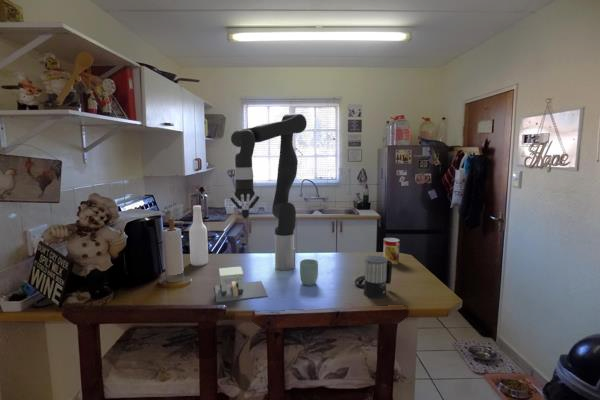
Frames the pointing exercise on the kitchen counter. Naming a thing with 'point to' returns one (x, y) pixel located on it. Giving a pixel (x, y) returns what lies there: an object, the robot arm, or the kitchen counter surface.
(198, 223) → the alcohol
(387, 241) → the canned food
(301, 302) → the kitchen counter surface
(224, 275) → the pale mint angular piece
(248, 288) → the mat
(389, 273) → the milk frother
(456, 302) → the kitchen counter surface
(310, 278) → the cup
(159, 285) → the kitchen counter surface
